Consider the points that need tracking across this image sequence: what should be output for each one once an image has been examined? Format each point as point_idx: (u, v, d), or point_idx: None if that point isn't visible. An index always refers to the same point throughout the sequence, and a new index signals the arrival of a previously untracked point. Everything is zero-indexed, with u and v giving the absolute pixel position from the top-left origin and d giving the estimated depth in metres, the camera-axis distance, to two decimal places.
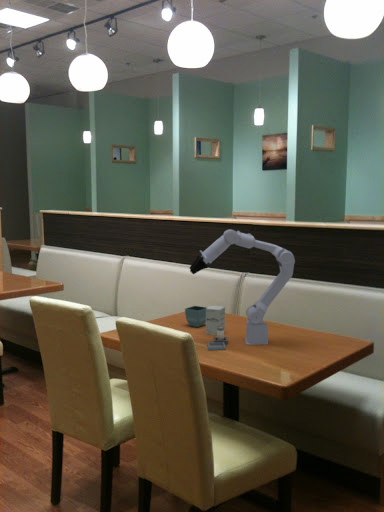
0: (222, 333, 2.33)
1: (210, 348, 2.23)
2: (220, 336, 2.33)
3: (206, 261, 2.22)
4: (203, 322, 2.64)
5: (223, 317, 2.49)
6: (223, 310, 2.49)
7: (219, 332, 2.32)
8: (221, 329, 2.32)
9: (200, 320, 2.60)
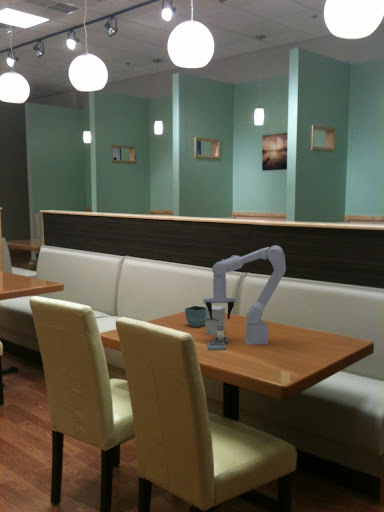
0: (222, 333, 2.33)
1: (210, 348, 2.23)
2: (220, 336, 2.33)
3: (203, 301, 2.36)
4: (203, 322, 2.64)
5: (223, 317, 2.49)
6: (223, 310, 2.49)
7: (220, 332, 2.32)
8: (221, 329, 2.32)
9: (200, 320, 2.60)
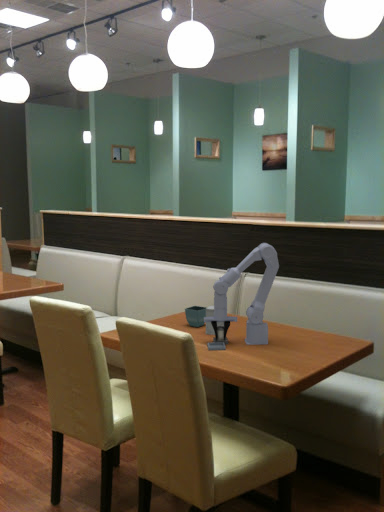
0: (222, 333, 2.33)
1: (210, 348, 2.23)
2: (220, 336, 2.33)
3: (204, 320, 2.33)
4: (203, 322, 2.64)
5: None
6: None
7: (219, 332, 2.32)
8: (221, 329, 2.32)
9: (200, 320, 2.60)
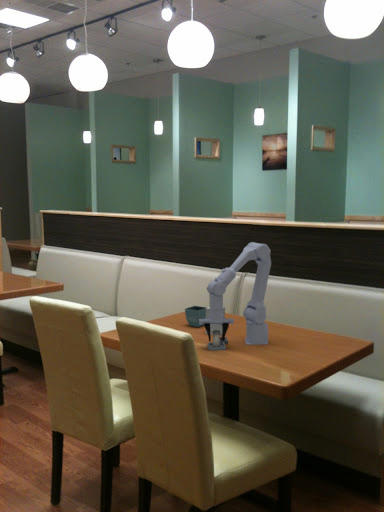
0: (218, 337, 2.25)
1: (210, 348, 2.23)
2: (216, 340, 2.25)
3: (199, 322, 2.25)
4: None
5: (223, 317, 2.49)
6: (223, 310, 2.49)
7: (215, 337, 2.25)
8: (217, 333, 2.25)
9: None
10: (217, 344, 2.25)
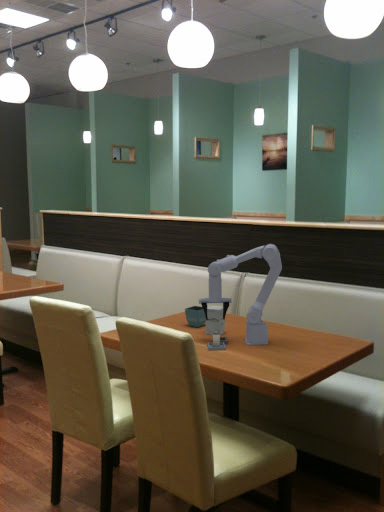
0: (218, 337, 2.25)
1: (210, 348, 2.23)
2: (216, 340, 2.25)
3: None
4: (203, 322, 2.64)
5: None
6: None
7: (215, 337, 2.25)
8: (217, 333, 2.25)
9: (200, 320, 2.60)
10: (217, 344, 2.25)
